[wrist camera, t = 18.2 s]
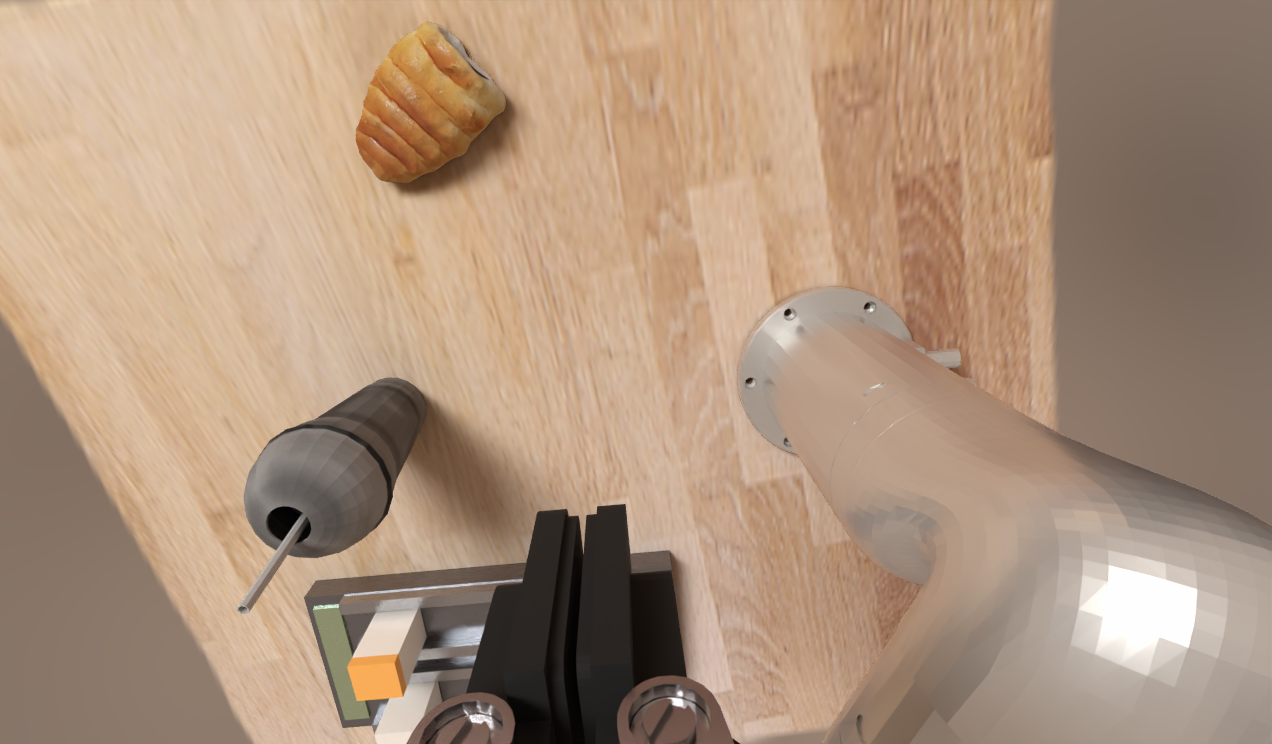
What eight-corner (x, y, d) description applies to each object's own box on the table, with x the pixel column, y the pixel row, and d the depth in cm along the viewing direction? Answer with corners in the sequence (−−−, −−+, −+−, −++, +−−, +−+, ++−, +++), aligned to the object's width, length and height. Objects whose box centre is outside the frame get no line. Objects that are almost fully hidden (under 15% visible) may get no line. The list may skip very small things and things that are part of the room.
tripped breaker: (419, 605, 48) (394, 662, 42) (426, 636, 49) (402, 697, 43) (377, 608, 48) (347, 666, 42) (385, 640, 48) (356, 701, 43)
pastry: (421, 209, 41) (402, 213, 37) (336, 130, 39) (308, 126, 35) (517, 99, 39) (507, 92, 35) (432, 12, 37) (413, -5, 33)
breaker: (436, 676, 50) (418, 730, 45) (443, 705, 51) (425, 761, 46) (396, 680, 50) (374, 734, 45) (404, 709, 51) (382, 765, 46)
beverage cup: (434, 353, 43) (297, 500, 25) (454, 447, 46) (343, 647, 27) (331, 364, 43) (113, 519, 24) (356, 457, 46) (175, 665, 27)
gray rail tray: (669, 550, 49) (672, 574, 46) (677, 679, 53) (681, 708, 51) (315, 580, 49) (297, 606, 46) (352, 707, 53) (337, 738, 50)
